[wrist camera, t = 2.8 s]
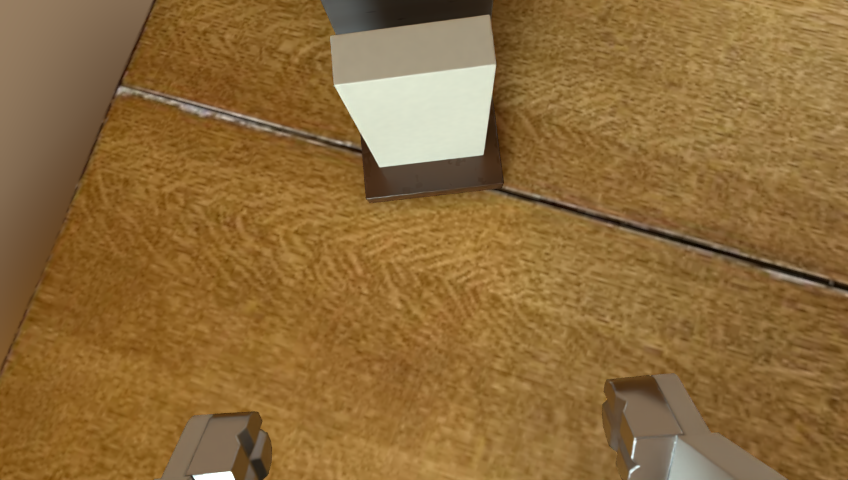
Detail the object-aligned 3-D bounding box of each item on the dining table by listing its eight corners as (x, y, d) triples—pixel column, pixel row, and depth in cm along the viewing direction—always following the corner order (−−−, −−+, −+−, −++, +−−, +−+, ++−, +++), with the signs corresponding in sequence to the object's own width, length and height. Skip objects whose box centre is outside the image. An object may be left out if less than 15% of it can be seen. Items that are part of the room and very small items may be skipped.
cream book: (483, 155, 31) (496, 64, 20) (379, 167, 32) (333, 85, 20) (479, 121, 32) (490, 13, 20) (376, 134, 32) (329, 35, 21)
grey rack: (502, 188, 32) (525, 117, 21) (369, 203, 33) (319, 142, 21) (471, -54, 35) (477, -237, 23) (348, -37, 35) (294, -208, 24)
